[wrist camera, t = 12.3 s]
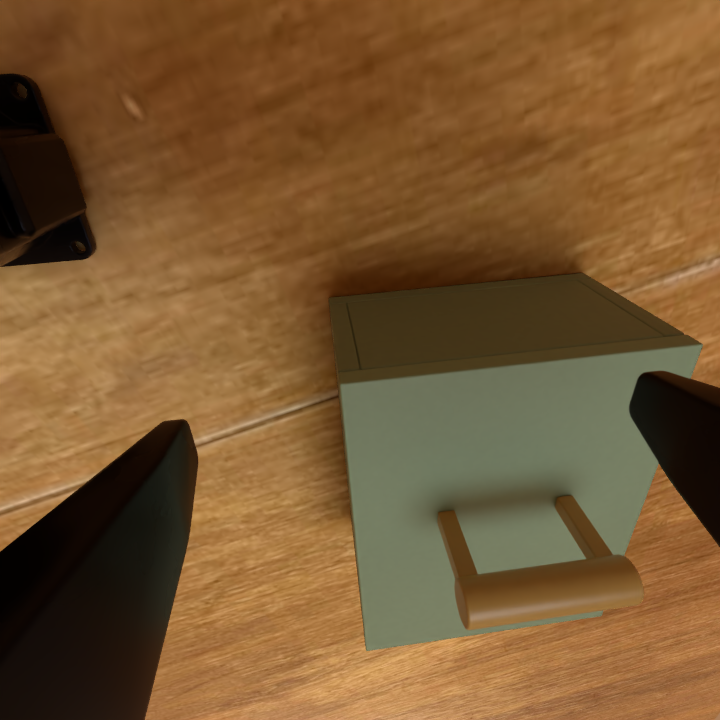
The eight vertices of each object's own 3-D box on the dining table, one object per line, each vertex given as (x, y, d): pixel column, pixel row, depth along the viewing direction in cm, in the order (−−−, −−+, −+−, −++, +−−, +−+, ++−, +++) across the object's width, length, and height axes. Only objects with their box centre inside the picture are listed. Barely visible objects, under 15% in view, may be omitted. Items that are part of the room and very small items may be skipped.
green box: (538, 496, 30) (596, 593, 24) (351, 521, 29) (363, 627, 23) (583, 272, 22) (686, 333, 16) (328, 297, 21) (337, 371, 15)
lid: (593, 602, 24) (659, 715, 20) (364, 635, 23) (378, 761, 19) (687, 333, 16) (837, 423, 11) (337, 372, 15) (351, 484, 11)
